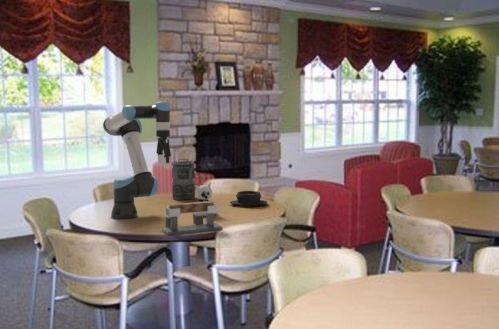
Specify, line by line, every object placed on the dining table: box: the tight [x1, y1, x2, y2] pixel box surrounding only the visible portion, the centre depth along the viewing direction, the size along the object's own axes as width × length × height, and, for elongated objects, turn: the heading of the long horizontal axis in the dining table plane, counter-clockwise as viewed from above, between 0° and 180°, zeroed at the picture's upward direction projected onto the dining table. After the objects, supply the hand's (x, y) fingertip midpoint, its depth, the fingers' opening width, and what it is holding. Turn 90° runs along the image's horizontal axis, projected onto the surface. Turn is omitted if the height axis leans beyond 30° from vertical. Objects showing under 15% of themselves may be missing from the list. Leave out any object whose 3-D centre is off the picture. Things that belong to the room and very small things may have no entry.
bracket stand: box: [161, 202, 223, 236], centre depth 282 cm, size 30×10×13 cm, turn 115°
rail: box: [169, 200, 214, 215], centre depth 282 cm, size 22×4×4 cm, turn 115°
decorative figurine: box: [192, 181, 216, 217], centre depth 323 cm, size 15×15×20 cm
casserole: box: [229, 190, 268, 207], centre depth 353 cm, size 25×19×8 cm
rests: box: [164, 214, 204, 228], centre depth 294 cm, size 20×5×5 cm, turn 115°
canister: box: [171, 158, 196, 201], centre depth 377 cm, size 16×16×28 cm
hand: (163, 167), depth 302 cm, fingers open, 13 cm apart
